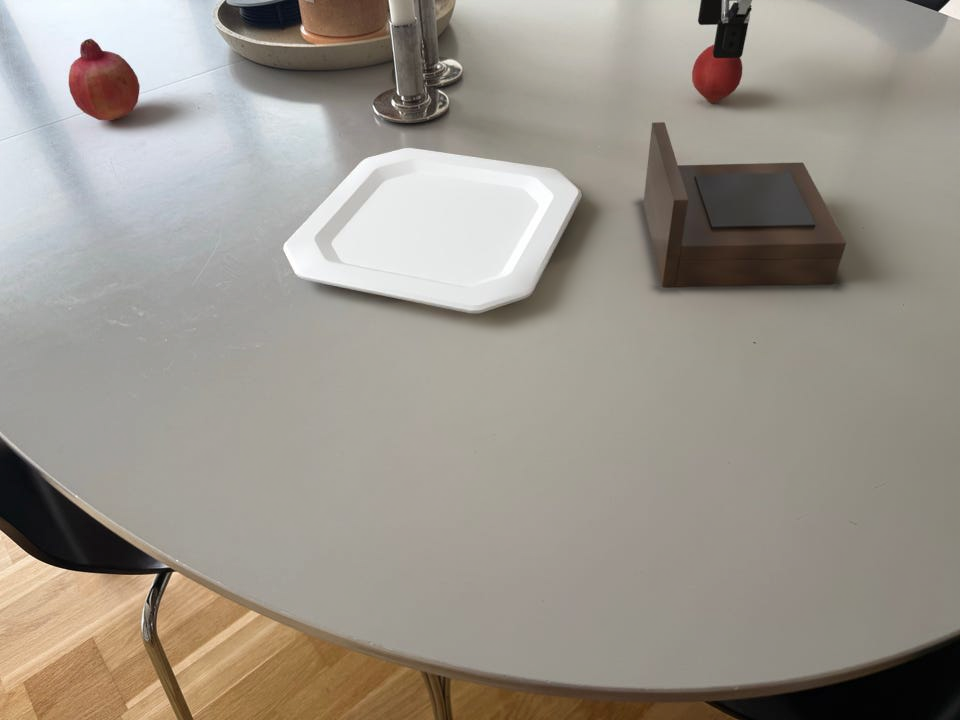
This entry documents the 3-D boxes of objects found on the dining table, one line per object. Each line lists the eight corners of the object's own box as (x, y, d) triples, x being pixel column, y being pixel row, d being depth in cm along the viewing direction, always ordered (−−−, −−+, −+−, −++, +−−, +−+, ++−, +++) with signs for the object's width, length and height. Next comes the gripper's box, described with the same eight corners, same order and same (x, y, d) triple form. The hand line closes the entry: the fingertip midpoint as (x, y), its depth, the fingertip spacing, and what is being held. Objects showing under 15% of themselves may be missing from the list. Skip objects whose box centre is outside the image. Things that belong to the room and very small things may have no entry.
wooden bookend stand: (793, 200, 83) (814, 118, 77) (833, 284, 73) (861, 196, 67) (643, 204, 84) (652, 122, 78) (662, 287, 74) (673, 200, 67)
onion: (700, 88, 103) (709, 24, 98) (744, 98, 101) (756, 33, 95) (680, 106, 100) (689, 40, 94) (725, 116, 97) (736, 50, 92)
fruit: (150, 125, 102) (123, 45, 95) (82, 138, 100) (50, 57, 93) (147, 99, 108) (121, 22, 101) (82, 111, 106) (52, 33, 99)
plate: (517, 337, 69) (517, 317, 68) (265, 285, 76) (260, 266, 75) (591, 191, 86) (592, 172, 85) (379, 159, 93) (377, 141, 92)
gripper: (807, -106, 77) (768, 70, 89) (765, -147, 90) (736, 12, 102) (727, -104, 77) (698, 71, 89) (696, -146, 90) (675, 13, 102)
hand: (718, 39), depth 95 cm, fingers open, 9 cm apart
